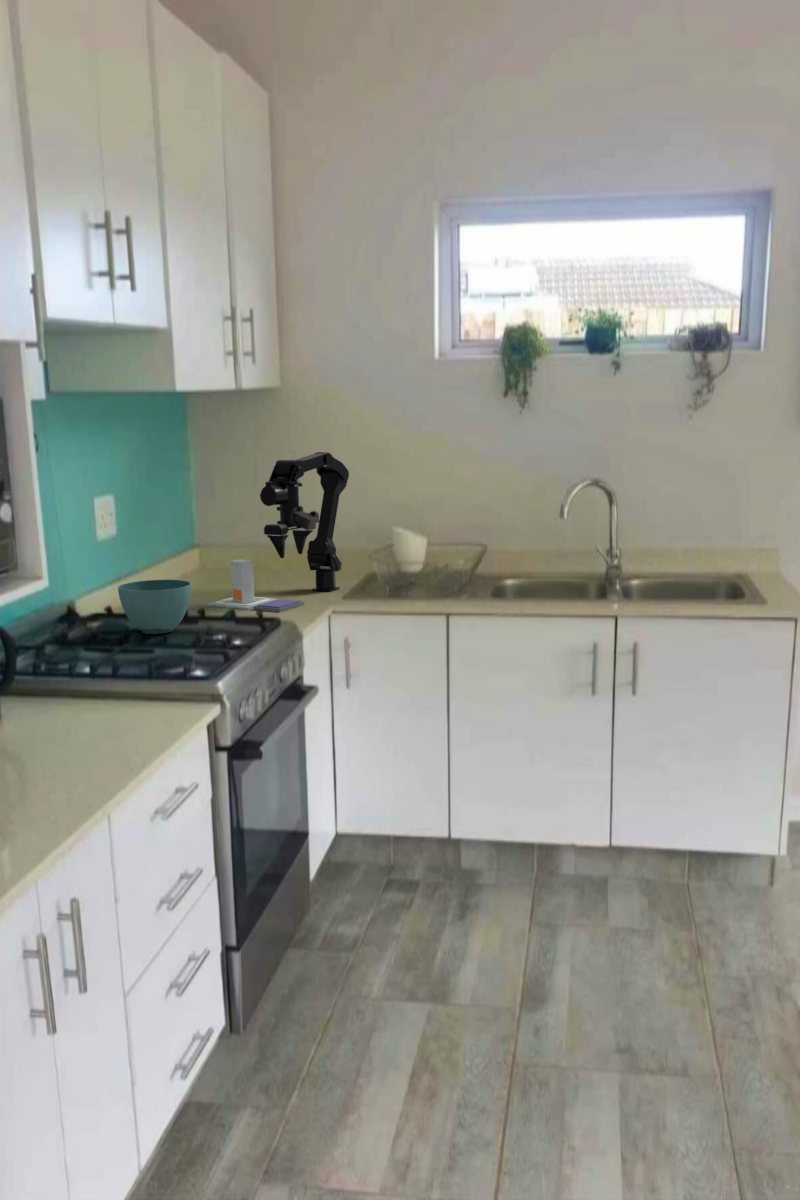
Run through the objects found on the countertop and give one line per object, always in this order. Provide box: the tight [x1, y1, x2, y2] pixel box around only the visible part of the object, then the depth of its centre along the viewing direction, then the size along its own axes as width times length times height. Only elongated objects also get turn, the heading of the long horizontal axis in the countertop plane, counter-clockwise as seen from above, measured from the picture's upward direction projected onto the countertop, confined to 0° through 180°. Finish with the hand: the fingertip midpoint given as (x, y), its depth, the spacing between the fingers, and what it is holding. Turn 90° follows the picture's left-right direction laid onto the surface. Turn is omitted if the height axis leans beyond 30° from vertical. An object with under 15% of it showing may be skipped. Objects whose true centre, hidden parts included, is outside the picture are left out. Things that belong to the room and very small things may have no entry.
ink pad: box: [253, 598, 305, 613], centre depth 296 cm, size 12×9×1 cm
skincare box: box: [230, 559, 256, 603], centre depth 302 cm, size 6×4×12 cm
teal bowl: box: [117, 579, 192, 629], centre depth 265 cm, size 18×18×12 cm
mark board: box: [206, 596, 278, 611], centre depth 303 cm, size 15×15×1 cm
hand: (291, 556), depth 305 cm, fingers open, 9 cm apart
